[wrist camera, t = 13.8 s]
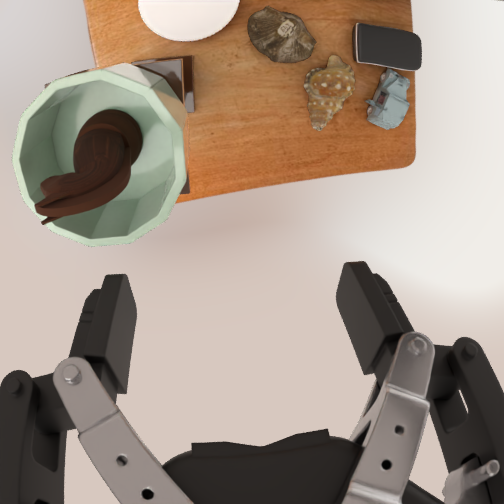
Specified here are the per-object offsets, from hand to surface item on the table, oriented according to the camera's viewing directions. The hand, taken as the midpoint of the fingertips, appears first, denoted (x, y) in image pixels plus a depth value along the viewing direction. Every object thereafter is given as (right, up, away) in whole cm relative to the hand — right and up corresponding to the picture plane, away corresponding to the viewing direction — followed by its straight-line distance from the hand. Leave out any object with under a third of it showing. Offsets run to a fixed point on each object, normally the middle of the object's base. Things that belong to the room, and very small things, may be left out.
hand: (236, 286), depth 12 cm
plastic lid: (-8, +37, +23) cm, 44 cm away
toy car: (+22, +28, +35) cm, 50 cm away
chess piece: (-9, +9, +8) cm, 15 cm away
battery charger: (+16, +33, +28) cm, 46 cm away
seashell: (+12, +27, +34) cm, 45 cm away
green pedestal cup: (-13, +26, +31) cm, 42 cm away
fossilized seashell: (+4, +33, +28) cm, 44 cm away
